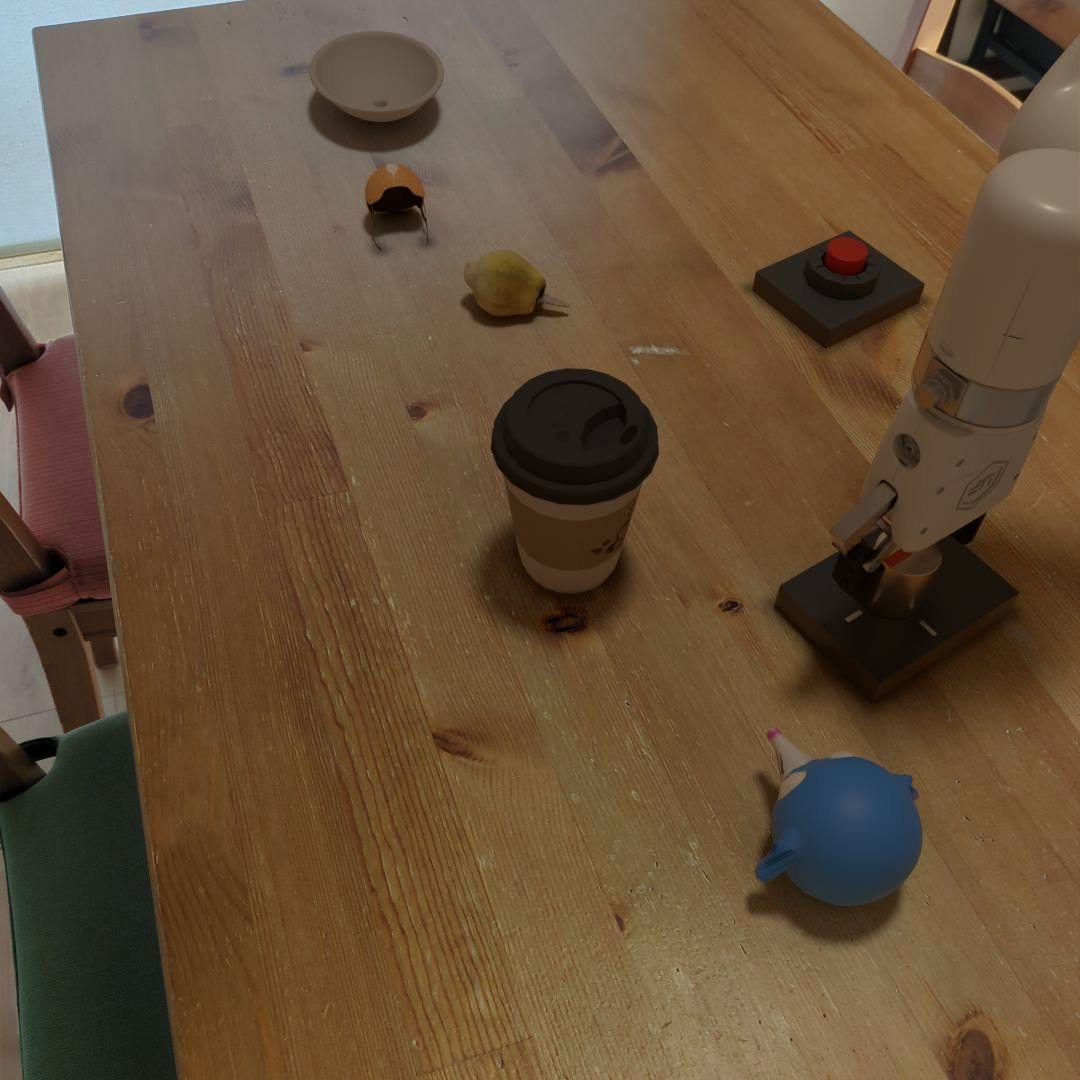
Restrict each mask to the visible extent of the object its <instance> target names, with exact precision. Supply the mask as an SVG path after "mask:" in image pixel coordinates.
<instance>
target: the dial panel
mask: <svg viewBox="0 0 1080 1080" xmlns="http://www.w3.org/2000/svg"><path fill="white" fill-rule="evenodd" d="M889 521H890V522H891V520H889ZM882 532H883V531H882V530H881V529H880V528H879V527H877V528H875V529H874V530H872V531H870V532H868V533H867V534H865V535H862V537H861V539H863V540H864V541H865V542H866V543H867V544H868V545H869V546H870V547H871V548H872V549H874V546H875V543H876V541H877V539H878V537H879V535H880V534H881V533H882ZM937 544H938V545H939V547H940V550H941V553H942V560H941V563H940V566H939V568H938V570H937V572H936V574H935V576H934V578H933V581H932V583H931V585H930V587H929V589H928V591H927V593H926V595H925V598H924V600H923V602H922V604H921V606H920V608H919V609H918V611H917V612H916V613H914V614H913V615H911V616H909V617H907V618H902V619H891V618H886V617H883V616H881V615H878V614H876V613H875V612H873V611H872V610H870V609H869V608H868V607H867V606H865V607H862V606H861V605H860V604H859V603H858V602H856V601H855V600H854V599H853V598H852V597H851V596H850V595H848V594H846V593H845V592H844V591H843V590H842V589H841V588H840V587H839V586H838V584H837V582H836V581H835V580H834V579H833V577H832V572H833V569H834V567H835V564H836V561H837V558H838V556H839V553H840V551H839V550H837V551H836V552H834V553H833V554H831V555H829V556H827V557H825V558H824V559H822V560H821V561H819V562H817V563H816V564H814V565H812V566H810V567H808V568H807V569H805V570H803V571H802V572H800V573H798V574H796V575H795V576H793V577H791V578H789V579H788V580H786V581H784V582H783V583H781V584H780V585H779V588H778V591H777V595H776V598H775V600H774V606H775V608H776V609H778V610H779V611H780V612H781V614H783V615H784V616H785V618H787V619H788V621H789V622H790V623H791V624H792V625H794V627H795V628H797V630H798V631H800V632H801V634H802V635H803V636H804V637H805V638H806V639H807V640H808V641H809V642H810V643H811V644H812V645H813V646H814V647H815V648H816V649H817V650H818V651H819V652H820V653H821V654H822V655H823V656H824V657H825V658H826V659H827V660H828V661H829V662H830V663H831V664H832V665H833V666H834V667H835V668H836V669H837V670H838V671H839V672H840V673H841V674H842V675H843V677H845V678H846V679H847V681H849V682H850V683H851V684H852V685H853V686H854V687H855V688H856V689H857V690H858V691H859V692H860V693H861V694H862V695H863V697H865V698H866V699H867V700H868V701H869V702H870V703H873V702H875V701H876V700H878V699H880V698H881V697H882V696H884V695H885V694H887V693H888V692H890V691H891V690H893V689H895V688H896V687H897V686H899V685H900V684H902V683H903V682H906V681H907V680H908V679H909V678H911V677H913V676H914V675H916V674H918V672H920V671H922V670H923V669H925V668H926V667H928V666H929V665H931V664H933V663H934V662H935V661H937V660H938V659H940V658H942V657H943V656H944V655H946V654H948V653H949V652H950V651H952V650H954V649H956V647H958V646H959V645H962V643H964V642H965V641H967V640H968V639H970V638H972V637H973V636H975V635H976V634H977V633H979V632H981V631H982V630H983V629H985V628H987V627H988V626H990V625H992V624H993V623H994V622H996V621H997V620H998V619H1000V618H1002V617H1003V616H1005V615H1006V614H1008V613H1009V612H1010V610H1011V608H1012V607H1013V605H1014V603H1015V602H1016V600H1017V598H1018V597H1019V595H1020V591H1019V589H1017V588H1016V587H1014V585H1012V584H1011V583H1010V582H1009V581H1008V580H1007V579H1005V578H1004V577H1003V576H1002V575H1001V574H999V573H998V572H997V571H996V570H994V569H993V568H992V567H991V566H990V565H989V564H988V563H987V562H985V561H984V560H983V559H982V558H981V557H979V556H978V555H977V554H976V553H975V552H973V551H972V550H971V549H970V548H969V547H968V546H967V545H964V544H961V543H960V542H958V541H957V540H956V539H955V538H954V537H953V536H951V535H950V534H949V535H948V536H946V537H944V538H943V539H941V540H939V541H937Z"/></svg>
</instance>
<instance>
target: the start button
mask: <svg viewBox="0 0 1080 1080" xmlns="http://www.w3.org/2000/svg"><path fill="white" fill-rule="evenodd" d="M867 255H868V250H867V247H866V246H865V245H864V244H863V243H862V242H860V241H858V240H856V239H853V238H847V237H841V238H836V239H834V240H832V241H831V242H830V243H829V244H828V247H827V251H826V255H825V259H824V264H825V267H826V268H827V269H828V270H830V271H831V272H833V273H836V274H840V275H843V276H855V275H858V274H859V273H861V272H862V270H863V268H864V265H865V261H866V258H867Z"/></svg>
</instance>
